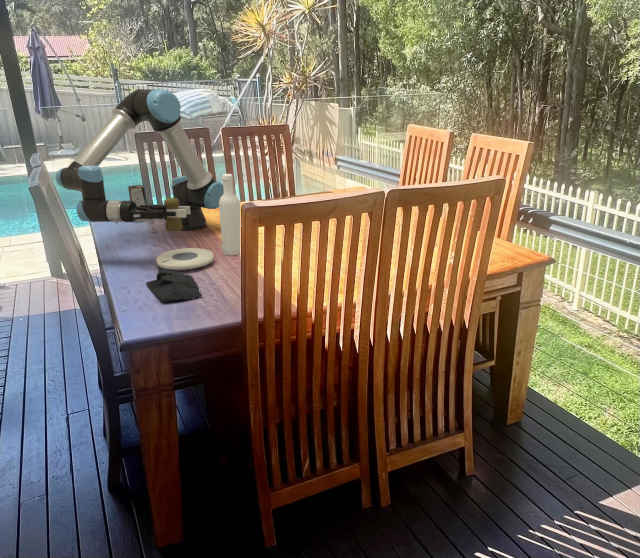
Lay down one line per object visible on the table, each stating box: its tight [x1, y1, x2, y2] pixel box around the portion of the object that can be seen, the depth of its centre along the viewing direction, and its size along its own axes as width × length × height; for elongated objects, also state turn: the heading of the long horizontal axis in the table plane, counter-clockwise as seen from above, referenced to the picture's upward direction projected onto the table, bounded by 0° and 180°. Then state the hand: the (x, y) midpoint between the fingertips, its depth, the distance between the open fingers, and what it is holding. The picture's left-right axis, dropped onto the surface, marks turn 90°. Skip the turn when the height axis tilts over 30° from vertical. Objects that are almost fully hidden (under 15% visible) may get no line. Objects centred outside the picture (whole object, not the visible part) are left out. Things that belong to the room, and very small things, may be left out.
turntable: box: [155, 247, 215, 271], centre depth 189 cm, size 20×20×2 cm
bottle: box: [218, 173, 241, 256], centre depth 197 cm, size 8×8×30 cm
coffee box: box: [127, 184, 149, 223], centre depth 248 cm, size 9×6×16 cm
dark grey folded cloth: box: [145, 268, 203, 303], centre depth 166 cm, size 15×22×5 cm
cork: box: [163, 197, 183, 232], centre depth 185 cm, size 6×6×11 cm
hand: (187, 211), depth 184 cm, fingers closed on cork, 4 cm apart
